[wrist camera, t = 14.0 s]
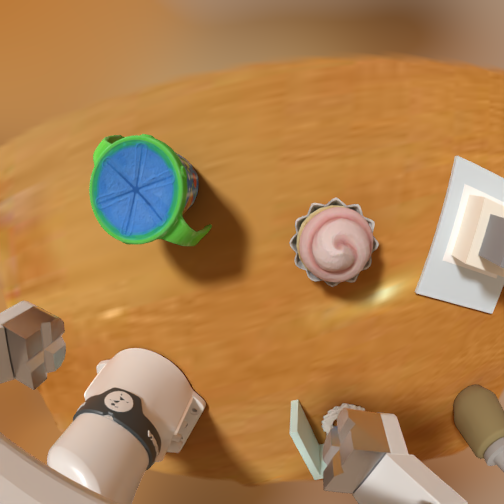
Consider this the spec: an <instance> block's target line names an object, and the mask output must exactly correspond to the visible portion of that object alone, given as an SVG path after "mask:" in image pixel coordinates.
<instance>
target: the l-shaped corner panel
mask: <svg viewBox="0 0 504 504" xmlns="http://www.w3.org/2000/svg"><path fill="white" fill-rule="evenodd" d="M343 408H348V409H354V410H361V411H364V410H365V408H361V406H358V407H357V406H356V405H349V404H346V403H342V405H341V406H340V407H338V406H335V407H334V408H333V409H332V410H329V411H328V414H327V415H325V416H323V418H324V420H323V421H321V422H322V424H323V425H322V428H323V431H326V433H327V435H328V433H329V431H330V429H332V428H334V427H335V426H333V422H334V420H336V419H337V417H338V415H339V413H340V411H341V410H342V409H343ZM290 435H291V437H292V439H293V441H294V443H295V445H296V447H297V448H298V450H299V452H300V454H301V456H302V458H303V460H304V461H305V463H306V465H307V467H308V469H309V471H310V472H311V474H312V476H313V478H314V480H318V479H322V478H323V471H324V470H325V468H326V467H327V464H326V463H325V462H324V461H323V446H324V444H320V445H319V444H318V441H317V439H316V437H315V435H314V433H313V431H312V429H311V426H310V424H309V422H308V420H307V418H306V416H305V413H304V411H303V409H302V407H301V405H300V402H299V400H294V401H291V417H290Z"/></svg>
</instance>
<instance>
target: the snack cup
mask: <svg viewBox="0 0 504 504" xmlns="http://www.w3.org/2000/svg"><path fill="white" fill-rule="evenodd" d="M93 160H94V165H95V166H94V169H93V171H92V175H91V180H90V189H89V190H90V200H91V205H92V209H93V212H94V215H95V217H96V218H97V220H98V222H99V224H100V225H101V227H102V228H103V229H104V230H105V231H106V232H107V233H108V234H110V235H111V236H112V237H114V238H115V239H117V240H119V241H122V242H123V243H125V244H144V243H148V242H151V241H154V240H156V239H163V240H166V241H168V242H171V243H174V244H177V245H181V246H195V245H196V244H197V243H198V242H199V241H200V240H201V239H202V238H203V237H204V236H205V235H206V234H207V233H208V232H209V231H210V229H211V227H212V225H211V224H209V225H207V226H205V227H204V228H203V229H202V230H200V231H198V232H196V231H195V230H193V229H192V228H191V227H189V225H188V224H187V223H186V222H185V220H184V218H183V216H182V215H183V214H184V213H185V212H186V211H187V210H188V209H189V208H190V207H191V206H192V204H193V202H194V201H195V198H196V196H197V193H198V176H197V173H196V172H195V170H194V168H193V166H192V165H191V164H190V163H189V162H188V161H187V160H186V159H185V158H183V157H182V156H180V155H179V154H177V153H175V152H174V151H173V150H172V148H170V147H169V146H168V145H166V144H165V143H163V142H162V141H160V140H157V139H155V138H154V137H153V136H151V135H146V134H142V135H140V136H129V137H122V136H121V135H114V136H108V137H105V138H104V139H103V140H102V141H101V142H100V144H99V145H98V147H97V148H96V150H95V152H94V155H93Z"/></svg>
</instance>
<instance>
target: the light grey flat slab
mask: <svg viewBox="0 0 504 504" xmlns="http://www.w3.org/2000/svg"><path fill="white" fill-rule="evenodd" d="M469 194H470V195H476V196H481V197H485V198H488V199H490V200H492V201H494V202H496V203H498V204H500V205H502V206H504V178H502V177H500V176H498V175H496V174H494V173H492V172H490V171H488V170H486V169H484V168H482V167H480V166H478V165H476V164H474V163H472V162H470V161H468V160H466V159H463V158H461V157H459V156H455V159H454V163H453V168H452V172H451V177H450V181H449V185H448V189H447V193H446V197H445V201H444V204H443V208H442V212H441V215H440V219H439V222H438V225H437V229H436V232H435V235H434V238H433V242H432V245H431V248H430V251H429V254H428V257H427V260H426V263H425V265H424V268H423V271H422V274H421V277H420V279H419V282H418V285H417V287H416V290H415V292H416V293H417V294H421V295H425V296H428V297H432V298H436V299H439V300H443V301H447V302H450V303H454V304H458V305H461V306H465V307H469V308H472V309H476V310H480V311H483V312H487V313H490V314H492V313H493V310H494V308H495V306H496V303H497V301H498V298H499V296H500V293H501V291H502V288H503V286H504V277H502V276H499V275H496V274H494V273H491V272H488V271H485V270H482V269H480V268H477V267H474V266H471V265H468V264H465V263H464V262H462V261H460V260H459V259H457V258H456V257H454V256H452V255H451V254H452V251H453V248H454V245H455V242H456V239H457V236H458V233H459V229H460V226H461V222H462V219H463V215H464V212H465V208H466V204H467V201H468V197H469Z"/></svg>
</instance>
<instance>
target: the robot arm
mask: <svg viewBox="0 0 504 504" xmlns="http://www.w3.org/2000/svg"><path fill="white" fill-rule="evenodd" d="M64 332H65V330H64V322H63V321H62V320H61V318H59V317H57V316H55V315H53V314H51V313H49V312H47V311H45V310H44V309H42V308H40V307H37V306H36V305H34V304H32V303H30V302H28V301H21V302H20V303H18V304H16V305H14V306H12V307H10V308H9V309H7V310H5V311H3V312H1V313H0V383H4V382H7V381H10V380H13V379H14V378H15V379H17V380H18V381H20V382H21V383H23V384H25V385H26V386H28V387H30V388H31V389H33V390H35V389H36V388H37V387H38V386H39V385H40V384H41V383H43V382H44V381H45V380H46V379H47V373H49V372H53V371H56V370H57V369H58V368H59V367H60V366H61V364H62V362H63V360H64V358H65V352H66V347H65V343H64V341H63V339H62V337H61V336H62V334H63V333H64ZM97 373H98V375H97V376H96V377H95V379H94V380H93V382H92V383H91V384H90V386H89V387H88V388H87V390H86V391H85V393H84V397H85V402H84V403H83V404H82V405H81V406H80V407H79V408H78V410H77V412H76V414H75V415H74V417H73V422H72V423H71V425H70V426H69V427H68V428H67V429H66V430H65V432H64V433H63V434H62V435H61V436H60V438H59V439H58V440H57V441H56V442H55V444H54V445H53V446H52V447H51V449H50V450H49V453H48V457H47V465H46V464H45V463H43V462H41V461H40V460H38V459H37V458H35V457H34V456H32V455H31V454H29V453H27V452H26V451H25V450H23V449H22V448H21V447H19V446H17V445H16V444H15V443H14V442H12V441H11V440H9V439H8V438H7V437H5V436H4V435H3V434H2V433H0V504H132V501H133V498H134V496H135V493H136V490H137V488H138V485H139V483H140V481H141V478H142V476H143V475H144V472H145V471H146V470H148V469H149V468H150V467H151V466H152V465H153V464H154V463H155V462H159V461H162V460H163V459H164V456H165V454H166V452H175V453H179V452H180V450H181V449H182V447H183V446H184V444H185V442H186V440H187V439H188V437H189V435H190V433H191V432H192V430H193V428H194V426H195V425H196V423H197V421H198V419H199V417H200V416H201V414H202V412H203V410H204V409H205V407H206V403H205V401H204V400H203V399H202V398H201V397H200V396H199V395H198V394H197V393H196V392H195V391H194V390H193V389H192V388H191V386H190V384H189V382H188V381H187V379H186V377H185V376H184V374H183V373H182V372H181V371H180V370H179V369H178V368H177V367H176V366H175V365H174V364H173V363H172V362H170V361H169V360H168V359H166V358H165V357H163V356H161V355H159V354H157V353H155V352H152V351H149V350H146V349H140V348H130V349H125V350H122V351H120V352H119V353H117V354H116V355H115V356H114V357H113V358H112V359H110V360H104V361H101V362H100V363H99V364H98V365H97ZM194 408H195V409H194ZM196 409H197V410H196ZM323 461H324V462H325V463H326V464H327V467H326V468H325V470H324V471H323V483H324V484H323V485H324V490H325V491H333V492H342V493H351V494H353V496H354V498H355V499H356V501H357V502H358V504H468V503H467V501H466V500H464V499H463V498H462V497H461V496H460V495H459V494H457V493H456V492H455V491H454V490H453V489H452V488H451V487H449V486H448V485H447V484H446V483H445V482H444V481H442V480H441V479H440V478H439V477H438V476H437V475H436V474H434V473H433V472H432V471H431V470H430V469H429V468H428V467H426V466H425V465H424V464H423V463H422V462H421V461H420V460H419V459H418V458H416V457H415V456H414V455H409V454H408V450H407V447H406V444H405V441H404V438H403V435H402V431H401V428H400V425H399V422H398V419H397V417H396V416H395V415H394V414H389V413H379V412H378V413H375V412H368V411H361V410H354V409H348V408H343V409H342V410H341V411H340V413H339V415H338V417H337V426H335V427H334V428H332V429H330V431H329V433H328V435H327V437H326V440H325V443H324V446H323Z"/></svg>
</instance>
